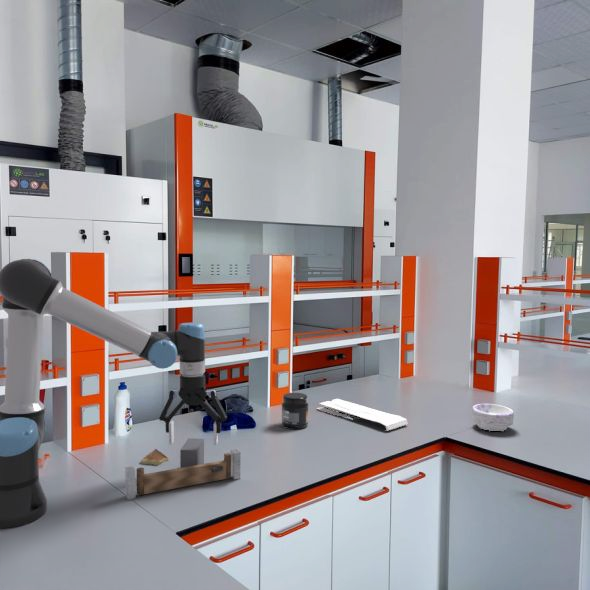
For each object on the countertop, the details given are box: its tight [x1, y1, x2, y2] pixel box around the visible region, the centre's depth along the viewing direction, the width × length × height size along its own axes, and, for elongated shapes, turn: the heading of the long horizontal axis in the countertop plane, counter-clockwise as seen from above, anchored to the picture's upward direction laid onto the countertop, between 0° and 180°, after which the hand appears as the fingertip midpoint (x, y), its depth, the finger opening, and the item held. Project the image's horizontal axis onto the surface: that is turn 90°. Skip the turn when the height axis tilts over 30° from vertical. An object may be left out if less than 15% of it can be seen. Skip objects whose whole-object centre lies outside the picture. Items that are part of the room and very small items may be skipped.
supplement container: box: [281, 392, 309, 430], centre depth 215 cm, size 10×10×12 cm
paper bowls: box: [471, 403, 515, 432], centre depth 215 cm, size 15×15×8 cm
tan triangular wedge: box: [140, 448, 169, 466], centre depth 180 cm, size 11×8×2 cm
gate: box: [136, 452, 232, 496], centre depth 158 cm, size 27×3×7 cm, turn 118°
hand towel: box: [316, 398, 409, 432], centre depth 227 cm, size 12×4×40 cm
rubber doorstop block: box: [179, 437, 205, 468], centre depth 168 cm, size 5×10×9 cm, turn 178°
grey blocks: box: [124, 448, 241, 501], centre depth 158 cm, size 33×3×8 cm, turn 118°
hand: (193, 443), depth 168 cm, fingers open, 13 cm apart
